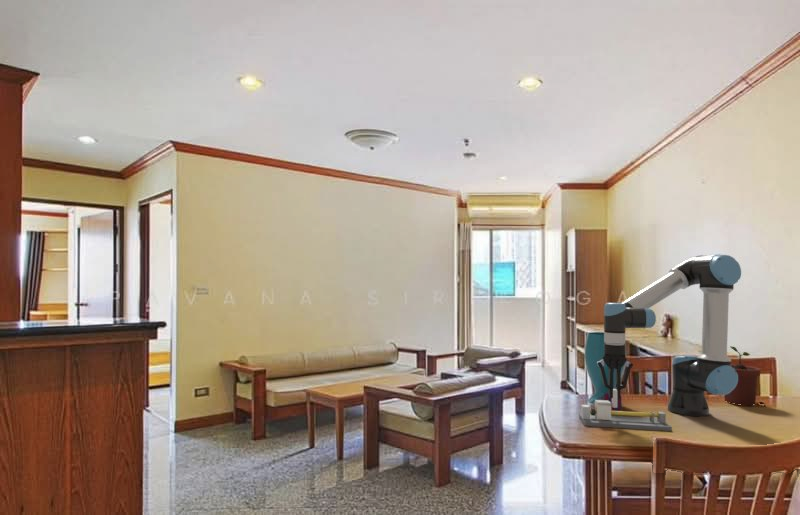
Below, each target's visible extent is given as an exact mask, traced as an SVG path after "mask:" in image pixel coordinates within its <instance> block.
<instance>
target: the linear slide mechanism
mask: <svg viewBox="0 0 800 515" xmlns="http://www.w3.org/2000/svg"><path fill="white" fill-rule="evenodd" d="M580 407H581V410H580V411H581V412H580V413H579V414H578V416H579V417H578V418H579V420H580V421H581V423H582V424H583V425H584V426H585V427H594V428H595V427H598V428H611V427H612V428H614V429H627V430H628V429H630V430H632V429H633V430H644V429H645V430H644V431H646V430H647V431H648V430H649V431H661V430H663V431H664V432H672V431H673V427H672V426H671V424H669V423H667V422H666V420H667V419H666V415H667V414H666V413H665V412H663V411H657V412H653V411H651V410H650V411H649V412H641V411H640V412H639V411H623V410H621V411H611V420H601V419H597V417H595V414H597V410H595V407H590V405H589V404H581V406H580ZM663 431H662V432H663Z"/></svg>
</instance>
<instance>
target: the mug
mask: <svg viewBox="0 0 800 515" xmlns="http://www.w3.org/2000/svg"><path fill="white" fill-rule="evenodd" d="M603 399H604V400H608V401H609V402H611V411H622V405H621V403H622V395H621V394H620V398H617V408H613V407H612V398H610V397H609V393H605V394H604V397H602V398H601V399H600V400H603Z"/></svg>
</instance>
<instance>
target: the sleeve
mask: <svg viewBox="0 0 800 515" xmlns="http://www.w3.org/2000/svg"><path fill="white" fill-rule="evenodd" d="M594 408H595V410H597V414H595V417H597V419H601V420H611V416H612V415H611V402H609V401H608V400H595V404H594Z"/></svg>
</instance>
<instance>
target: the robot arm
mask: <svg viewBox="0 0 800 515" xmlns="http://www.w3.org/2000/svg"><path fill="white" fill-rule="evenodd" d="M741 277H742V268H741V265H740V264H739V262H738V261H737V260H736V258H735V257H733V256H731V255H727V254H720V253H719V254H708V255H707V254H706V255H703V254H701V255H695V256H692V257H690V258H687V259H686V260H684V261H682V262H681V263H679V264H677V265H675V266H674V267H672V268H671V269H669V272H668V274H666V275H664V276H663V277H660V278H659V279H658V280H656V281H654V282H652V283H651V284H650V285H648V286H646V287H645V288H643V289H642V290H640V291H638V292H637V293H635V294H633V296H631V297H628V299H626V300H624V301H622V302H606V303H605V304H604V309H603V329H604V330H603V332H604V342H605V343H606V344H605V345H604V356H603V359H602V360H601V361H597V365H598V366H599V368H600V372H601V376H602V380H603V385H604V386H605V387H606V388H608V389H609V397H610V398H612V407H613V408H617V398H620V395H621V390H623V389H626V387H627V383H628V380H629V375H630V373H631V372H630V371H631V370H632V368H633V366H634V364H633V363H631V362H630V361H628V359H627V355H626V356H625V345H626V330H627V329H651V328H653V327H654V326H655V325H656V323H657V322H656V321H657V320H656V318H657V317H656V313H655V311H654V310H653V309H651V308H652V307H653V306H656V304H658V303H660V302H661V301H663V300H665V299H666V298H668V297H669V296H671V295H673V294H674V293H676V292H678V291H679V290H681V289H682V290H686V289H687V288H689V287H691V286H694V285H699V289H700V290H701V292H702V293H703V306H702V332H701V334H702V335H701V338H702V339H701V353H700V354H698V355H675V356H674V357H673V358H672V365H671V366H672V370H671V371H672V391H671V394H670V397H669V400H668V403H667V410H668V411H669V412H672V413H674V414H679V415H684V416H693V417H705V416H709V415H710V407H709V404H708V402H707V399H706V396H705V392H706V393H710V394H712V395H717V396H718V395H719V396H724V395H726V394H729V393H730V392H731V391H732V390H734V389H735V387H736V385H737V383H738V374H737V372H736V371H735V369H734V368H732V367H731V365H732V359H731V358H730V357H729V356H728V330H729V327H728V326H729V300H730V299H729V297H730V296H729V294H730V293H732V292H733V291H734V289H735V288H734V287H735V286H734V285H736V284H737V283H738V282H739V281H740V279H741ZM624 344H625V345H624ZM604 362H605V364H606V365H607V366H608V370H609V385H608V383H607V379H606V374H605V370H604V367H603V366H604ZM624 364H625V369H624V373H623V375H622V378H621V368H622V367H623V365H624ZM614 369H615V370H616V389H613V372H614Z"/></svg>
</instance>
